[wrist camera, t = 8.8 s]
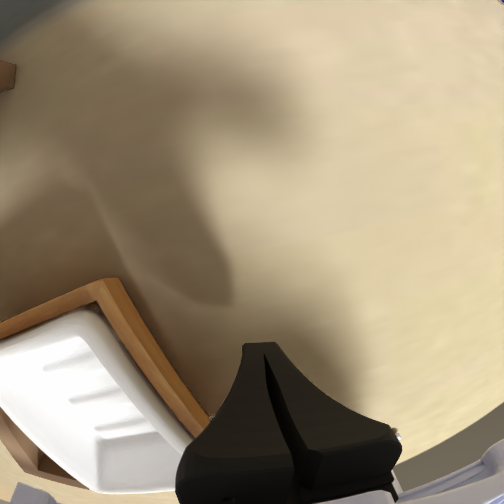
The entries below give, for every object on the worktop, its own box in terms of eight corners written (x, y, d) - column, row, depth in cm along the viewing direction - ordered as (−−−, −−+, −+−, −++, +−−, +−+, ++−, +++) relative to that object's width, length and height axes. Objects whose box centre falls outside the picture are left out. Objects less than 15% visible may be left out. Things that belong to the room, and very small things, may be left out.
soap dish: (-2, 306, 14) (-48, 354, 9) (127, 244, 14) (87, 294, 9) (108, 446, 18) (95, 501, 14) (231, 421, 18) (237, 487, 13)
